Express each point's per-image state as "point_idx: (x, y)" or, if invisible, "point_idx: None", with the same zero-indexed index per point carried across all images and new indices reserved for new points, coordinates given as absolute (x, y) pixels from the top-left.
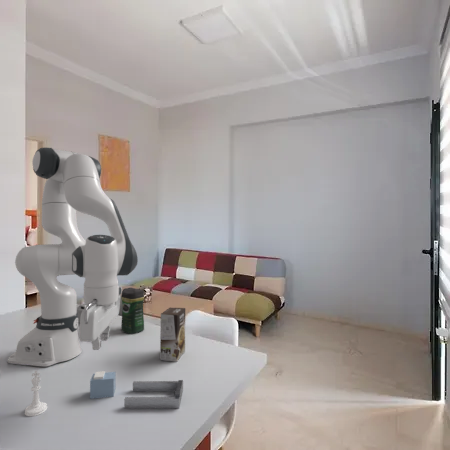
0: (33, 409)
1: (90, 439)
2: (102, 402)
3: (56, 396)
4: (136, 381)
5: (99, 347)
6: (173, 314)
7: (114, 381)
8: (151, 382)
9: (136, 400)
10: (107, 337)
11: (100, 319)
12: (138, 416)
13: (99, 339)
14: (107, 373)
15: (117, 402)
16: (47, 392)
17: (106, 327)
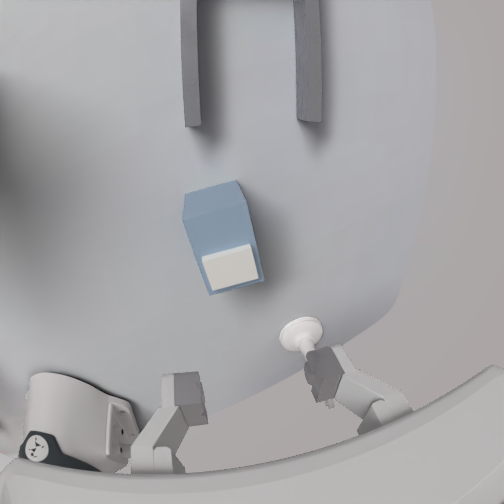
0: (315, 336)
1: (415, 170)
2: (272, 201)
3: (243, 329)
4: (185, 115)
5: (340, 350)
6: None
7: (216, 200)
8: (191, 49)
9: (320, 79)
10: (192, 384)
11: (466, 492)
12: (347, 68)
13: (374, 388)
14: (202, 246)
15: (273, 152)
16: (226, 353)
17: (318, 457)
